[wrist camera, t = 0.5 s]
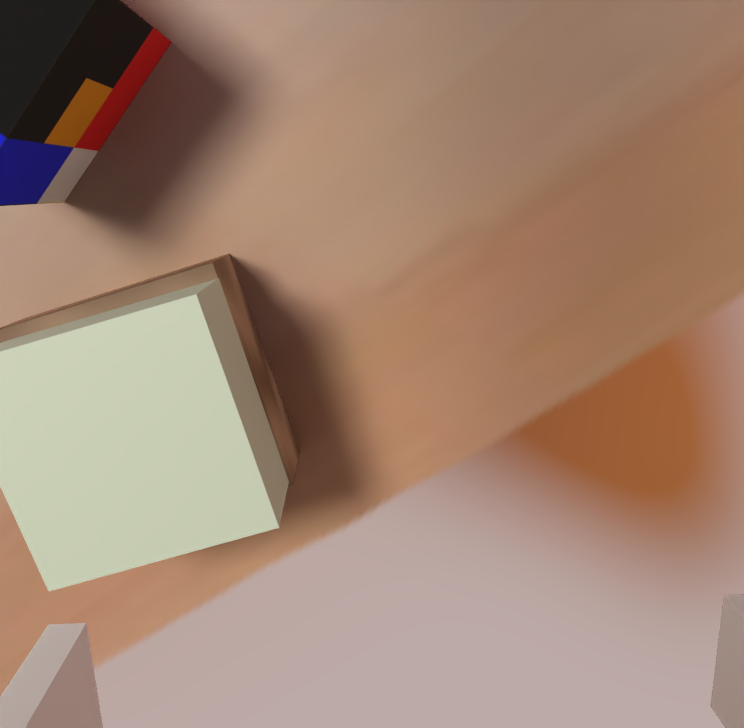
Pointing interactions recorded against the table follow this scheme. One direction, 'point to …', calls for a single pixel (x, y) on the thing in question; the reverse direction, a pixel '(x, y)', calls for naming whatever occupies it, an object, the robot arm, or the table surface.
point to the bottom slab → (175, 282)
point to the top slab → (135, 437)
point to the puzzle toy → (65, 89)
